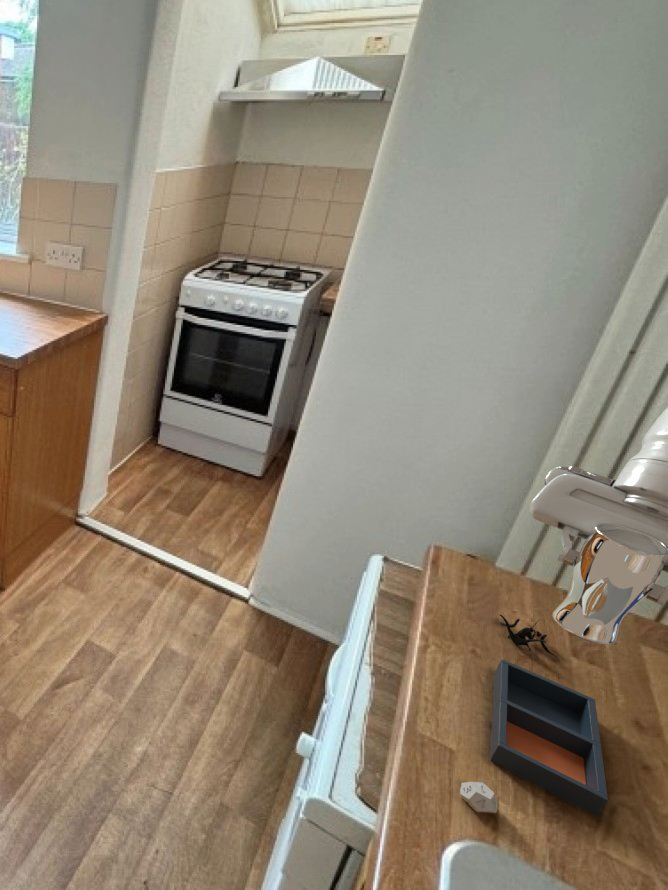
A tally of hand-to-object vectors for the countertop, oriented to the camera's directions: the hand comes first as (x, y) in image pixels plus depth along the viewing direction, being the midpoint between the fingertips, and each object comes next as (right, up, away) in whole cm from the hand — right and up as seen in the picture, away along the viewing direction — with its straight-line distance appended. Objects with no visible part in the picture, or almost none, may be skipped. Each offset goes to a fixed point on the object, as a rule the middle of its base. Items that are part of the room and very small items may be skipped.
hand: (608, 580), depth 79 cm
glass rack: (-3, -25, +6) cm, 26 cm away
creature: (+11, -19, +22) cm, 31 cm away
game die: (-20, -28, -2) cm, 34 cm away
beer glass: (0, -8, +3) cm, 9 cm away
